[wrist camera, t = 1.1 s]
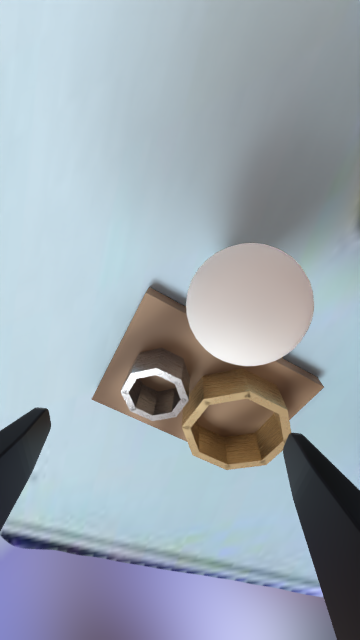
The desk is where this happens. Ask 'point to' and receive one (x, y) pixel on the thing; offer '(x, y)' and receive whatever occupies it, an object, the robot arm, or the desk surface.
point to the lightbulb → (250, 304)
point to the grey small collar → (150, 400)
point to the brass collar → (241, 447)
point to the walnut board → (196, 372)
